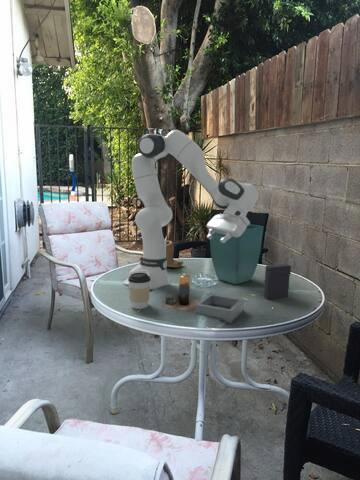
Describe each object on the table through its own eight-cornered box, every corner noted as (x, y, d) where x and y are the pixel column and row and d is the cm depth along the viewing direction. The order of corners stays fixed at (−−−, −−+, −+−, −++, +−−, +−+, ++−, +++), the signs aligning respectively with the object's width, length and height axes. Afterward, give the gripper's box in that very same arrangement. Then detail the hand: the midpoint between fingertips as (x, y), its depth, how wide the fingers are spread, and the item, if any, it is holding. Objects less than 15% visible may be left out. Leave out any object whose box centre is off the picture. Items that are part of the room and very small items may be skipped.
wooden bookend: (151, 267, 233) (151, 242, 230) (159, 263, 243) (159, 238, 241) (176, 270, 227) (176, 244, 224) (183, 265, 238) (184, 240, 235)
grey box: (283, 294, 189) (285, 263, 186) (289, 297, 185) (291, 265, 182) (262, 297, 185) (264, 265, 182) (268, 300, 181) (270, 267, 178)
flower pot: (206, 279, 212) (207, 225, 207) (232, 272, 226) (234, 221, 220) (235, 288, 198) (238, 230, 192) (261, 280, 211) (264, 226, 205)
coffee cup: (124, 308, 169) (123, 273, 166) (141, 303, 175) (140, 269, 172) (137, 314, 162) (137, 278, 160) (155, 309, 169) (155, 274, 166)
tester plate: (161, 309, 169) (161, 298, 168) (176, 299, 181) (176, 289, 180) (192, 315, 163) (192, 304, 162) (206, 304, 175) (206, 294, 174)
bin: (195, 316, 161) (195, 304, 160) (209, 304, 175) (210, 293, 174) (231, 323, 155) (231, 311, 154) (243, 311, 168) (244, 299, 167)
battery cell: (177, 304, 171) (177, 274, 168) (181, 301, 174) (182, 272, 172) (186, 306, 169) (187, 276, 166) (191, 302, 172) (191, 273, 170)
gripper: (214, 208, 185) (196, 231, 182) (245, 213, 168) (226, 239, 165) (222, 217, 188) (204, 240, 185) (253, 223, 172) (234, 249, 168)
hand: (214, 240), depth 175 cm, fingers open, 8 cm apart
